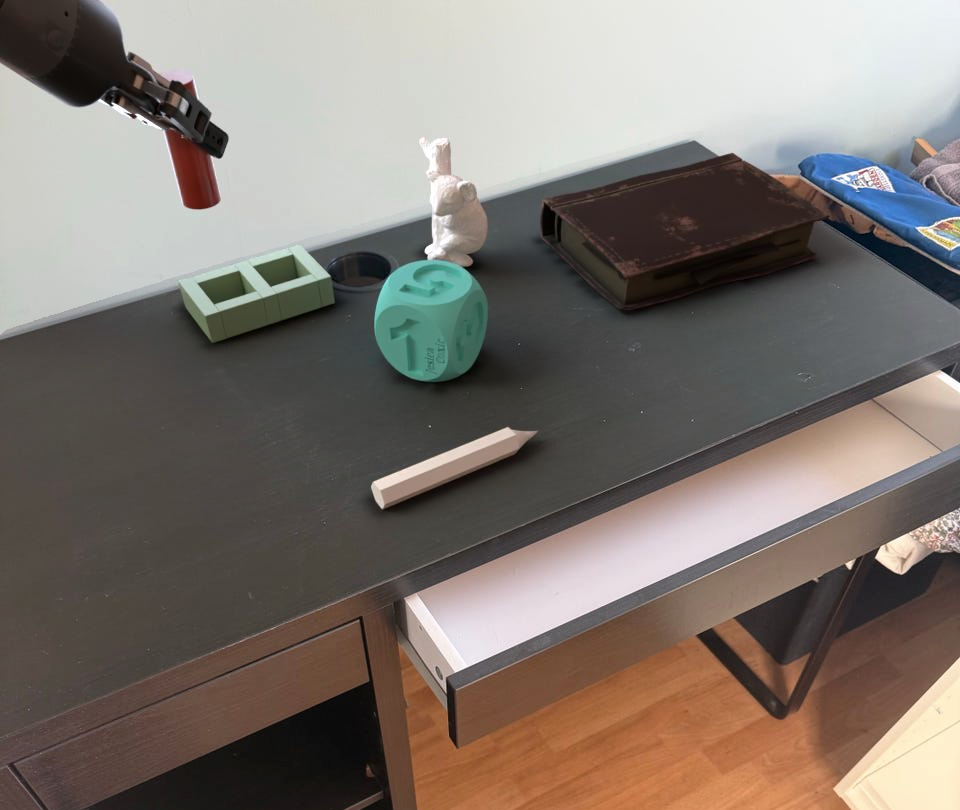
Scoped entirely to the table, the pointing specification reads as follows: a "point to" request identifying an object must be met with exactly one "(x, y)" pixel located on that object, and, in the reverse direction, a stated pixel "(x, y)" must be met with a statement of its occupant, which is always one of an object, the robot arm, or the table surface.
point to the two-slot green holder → (256, 292)
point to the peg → (191, 159)
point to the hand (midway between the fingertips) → (205, 140)
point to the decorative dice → (431, 320)
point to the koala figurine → (452, 209)
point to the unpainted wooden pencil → (448, 466)
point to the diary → (680, 230)
